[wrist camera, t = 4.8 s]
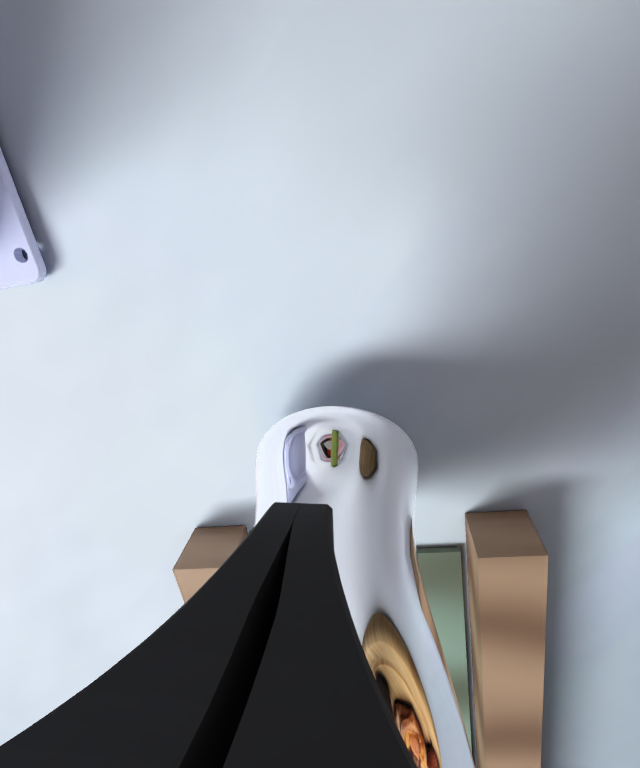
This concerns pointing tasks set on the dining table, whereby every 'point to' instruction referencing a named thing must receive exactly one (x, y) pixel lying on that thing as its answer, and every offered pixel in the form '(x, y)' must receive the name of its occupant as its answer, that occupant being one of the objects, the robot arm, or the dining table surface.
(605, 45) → the dining table surface
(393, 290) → the dining table surface
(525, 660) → the cradle
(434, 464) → the dining table surface
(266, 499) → the beer glass
